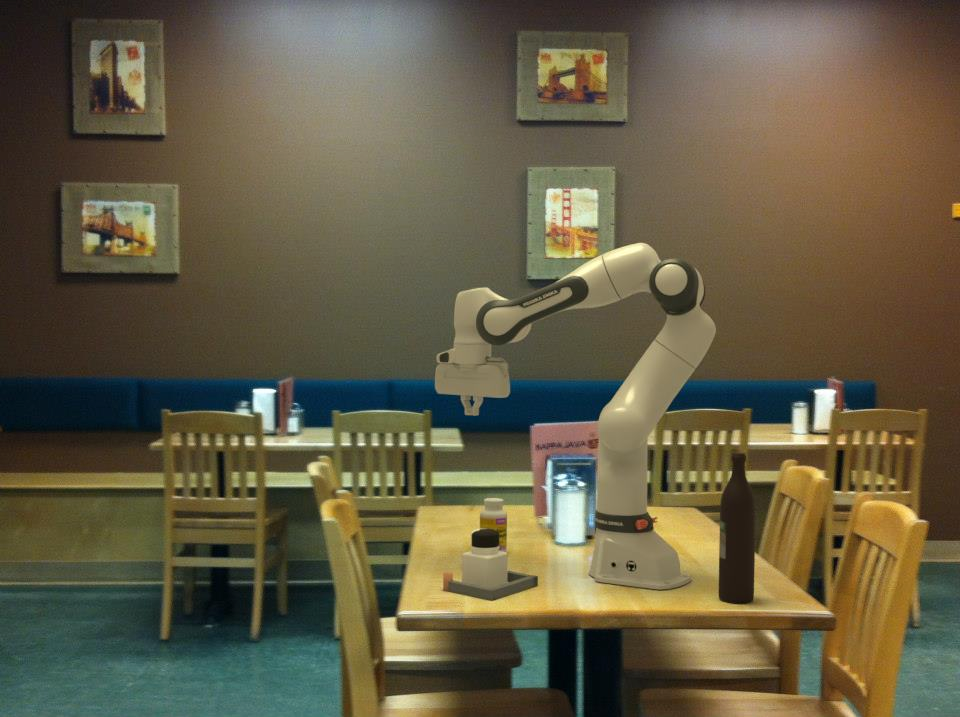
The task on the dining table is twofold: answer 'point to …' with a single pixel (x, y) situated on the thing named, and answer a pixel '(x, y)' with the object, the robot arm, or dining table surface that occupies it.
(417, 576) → the dining table surface
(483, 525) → the supplement bottle
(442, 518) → the dining table surface
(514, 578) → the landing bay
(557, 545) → the dining table surface
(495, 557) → the medicine bottle
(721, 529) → the wine bottle
